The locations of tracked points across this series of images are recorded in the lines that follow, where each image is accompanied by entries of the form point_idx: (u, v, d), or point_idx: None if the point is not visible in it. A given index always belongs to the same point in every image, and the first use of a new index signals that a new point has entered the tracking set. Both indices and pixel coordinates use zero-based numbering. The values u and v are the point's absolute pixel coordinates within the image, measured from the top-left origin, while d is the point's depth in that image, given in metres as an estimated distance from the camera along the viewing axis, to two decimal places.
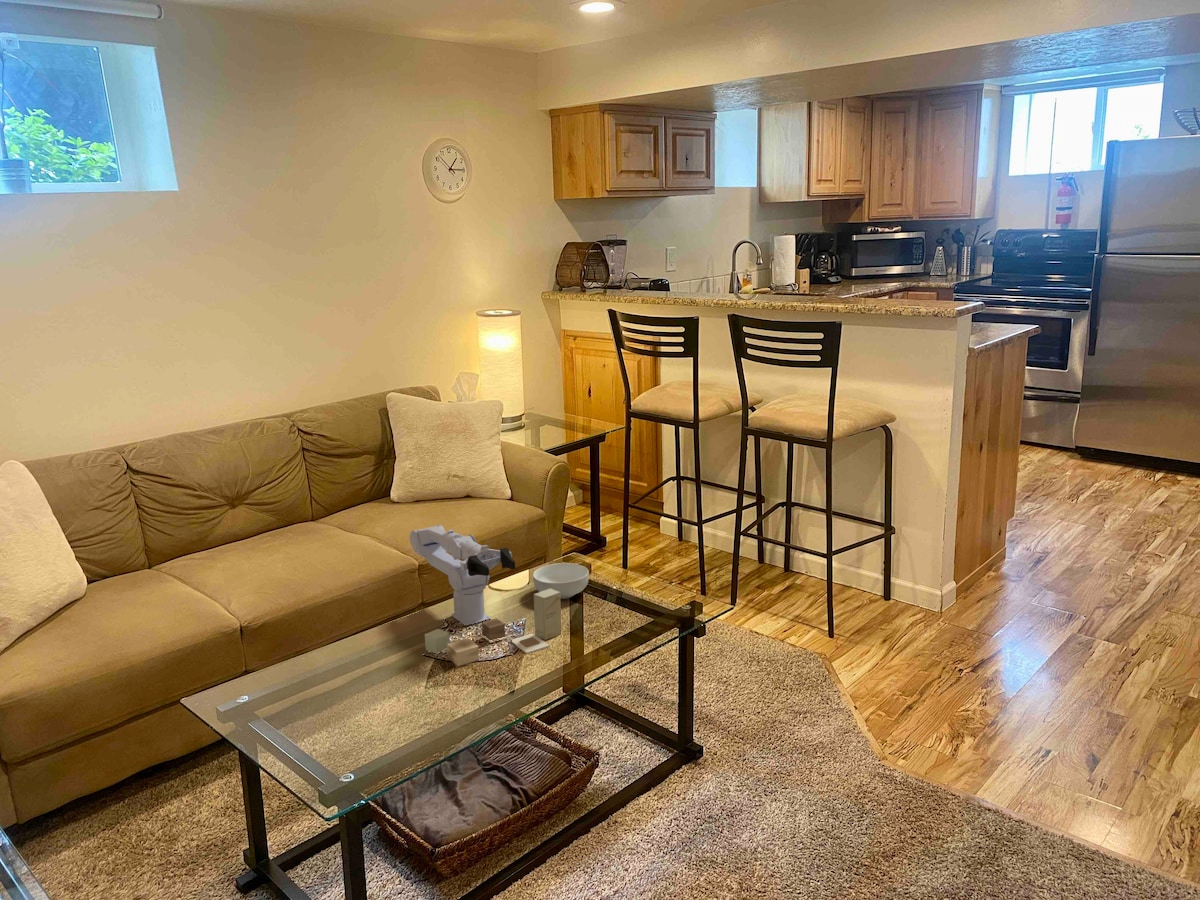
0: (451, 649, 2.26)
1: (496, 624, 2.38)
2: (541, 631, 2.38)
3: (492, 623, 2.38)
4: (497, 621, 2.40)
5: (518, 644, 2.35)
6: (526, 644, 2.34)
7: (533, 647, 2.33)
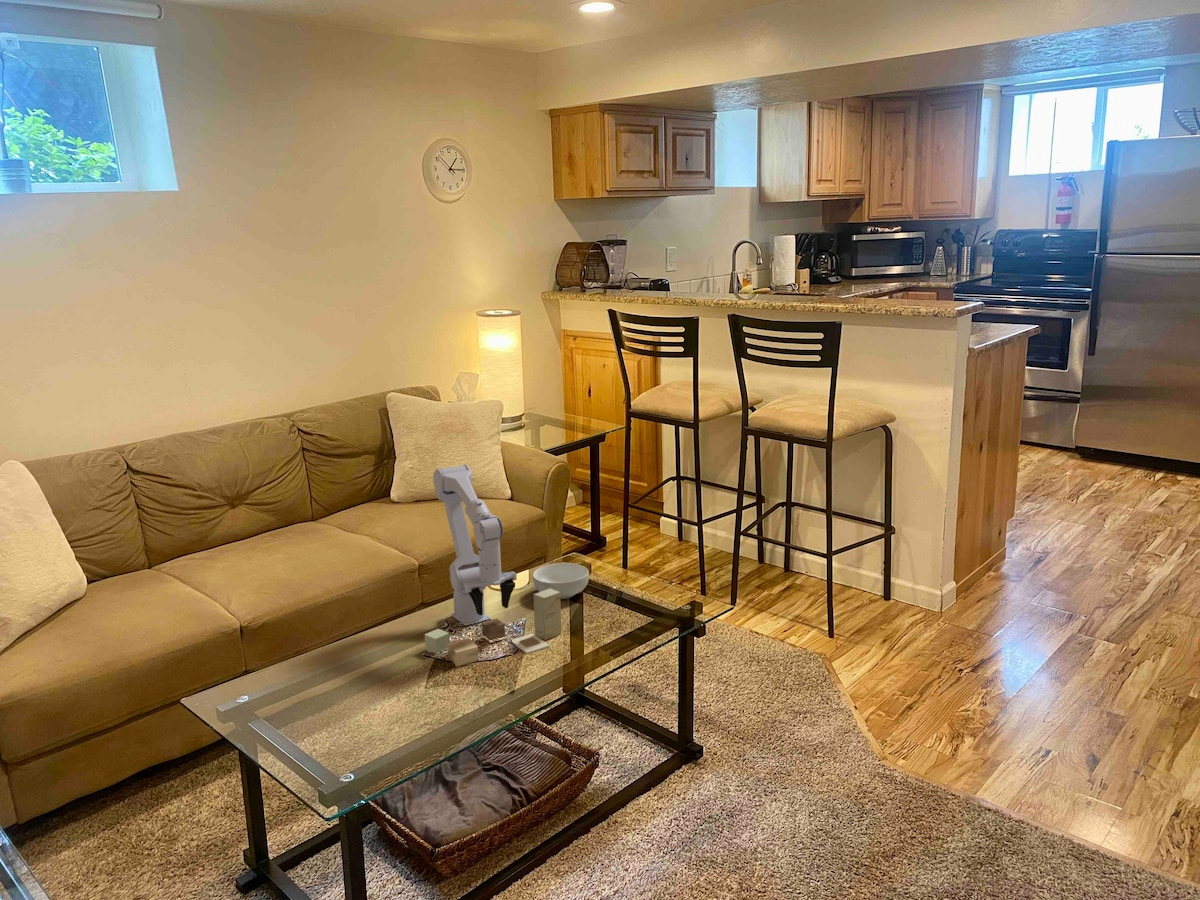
0: (451, 649, 2.26)
1: (496, 624, 2.38)
2: (541, 631, 2.38)
3: (492, 623, 2.38)
4: (497, 621, 2.40)
5: (518, 644, 2.35)
6: (526, 644, 2.34)
7: (533, 647, 2.33)
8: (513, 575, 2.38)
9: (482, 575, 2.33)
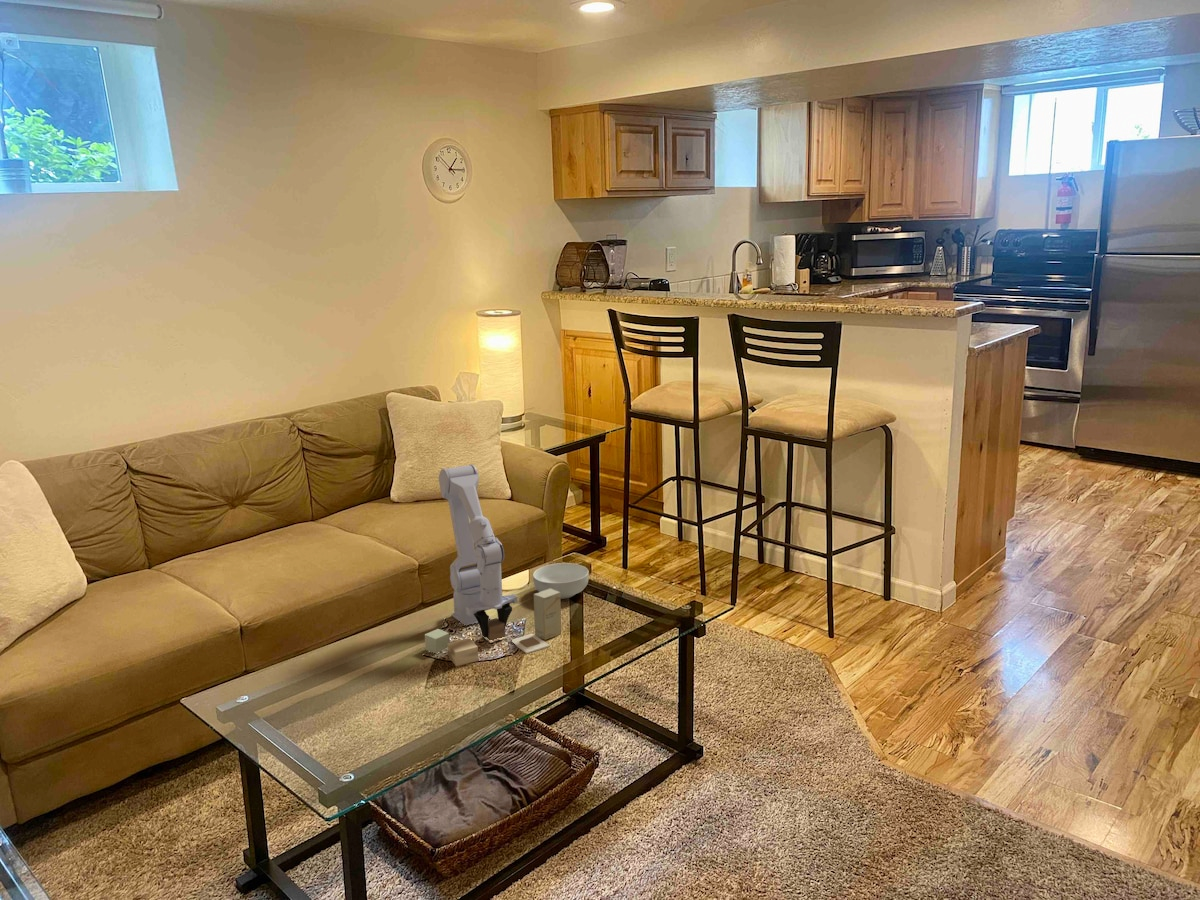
0: (451, 649, 2.26)
1: (496, 624, 2.38)
2: (541, 631, 2.38)
3: (492, 623, 2.38)
4: (497, 620, 2.40)
5: (518, 644, 2.35)
6: (526, 644, 2.34)
7: (533, 647, 2.33)
8: (514, 598, 2.40)
9: (483, 598, 2.35)
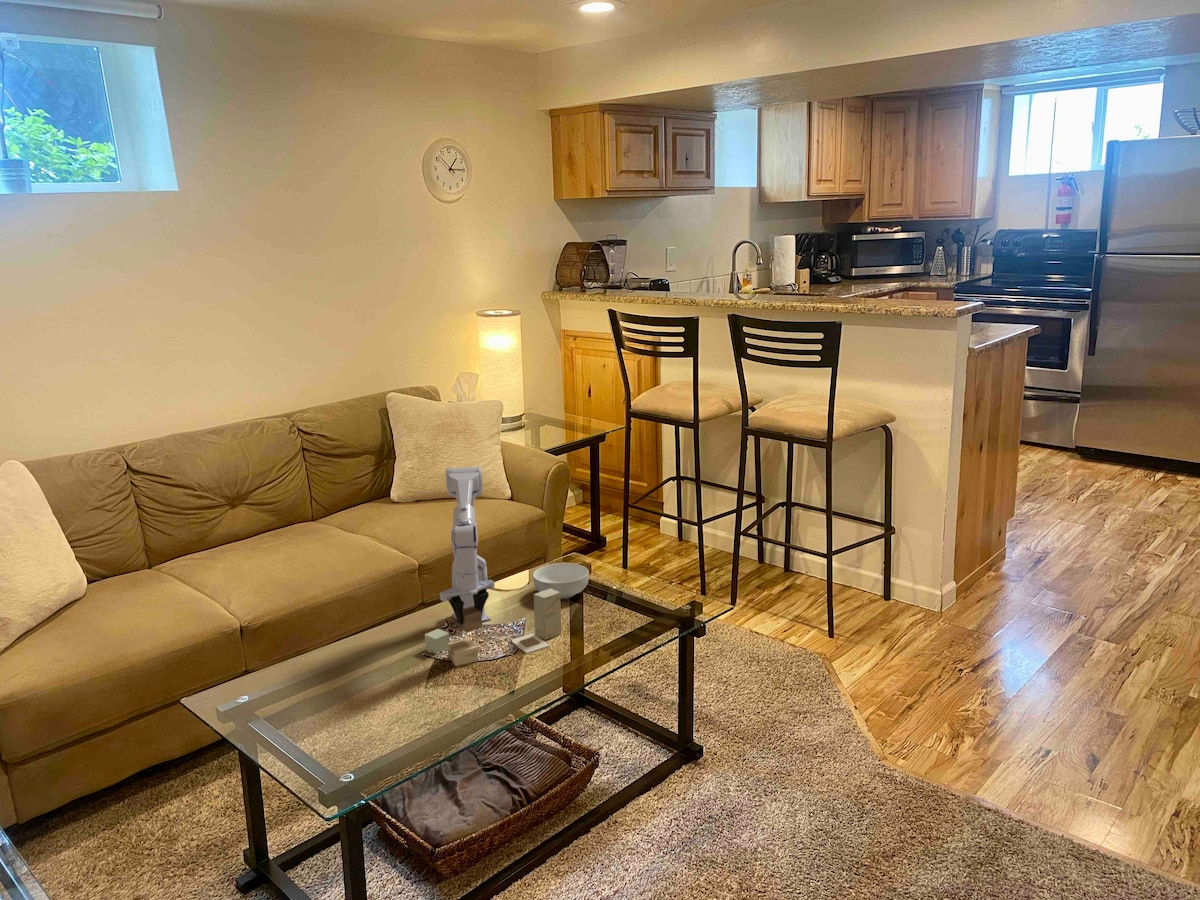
0: (451, 648, 2.26)
1: (472, 612, 2.27)
2: (541, 631, 2.38)
3: (468, 611, 2.27)
4: (474, 608, 2.29)
5: (518, 644, 2.35)
6: (526, 644, 2.34)
7: (533, 647, 2.33)
8: (491, 584, 2.29)
9: (458, 583, 2.24)
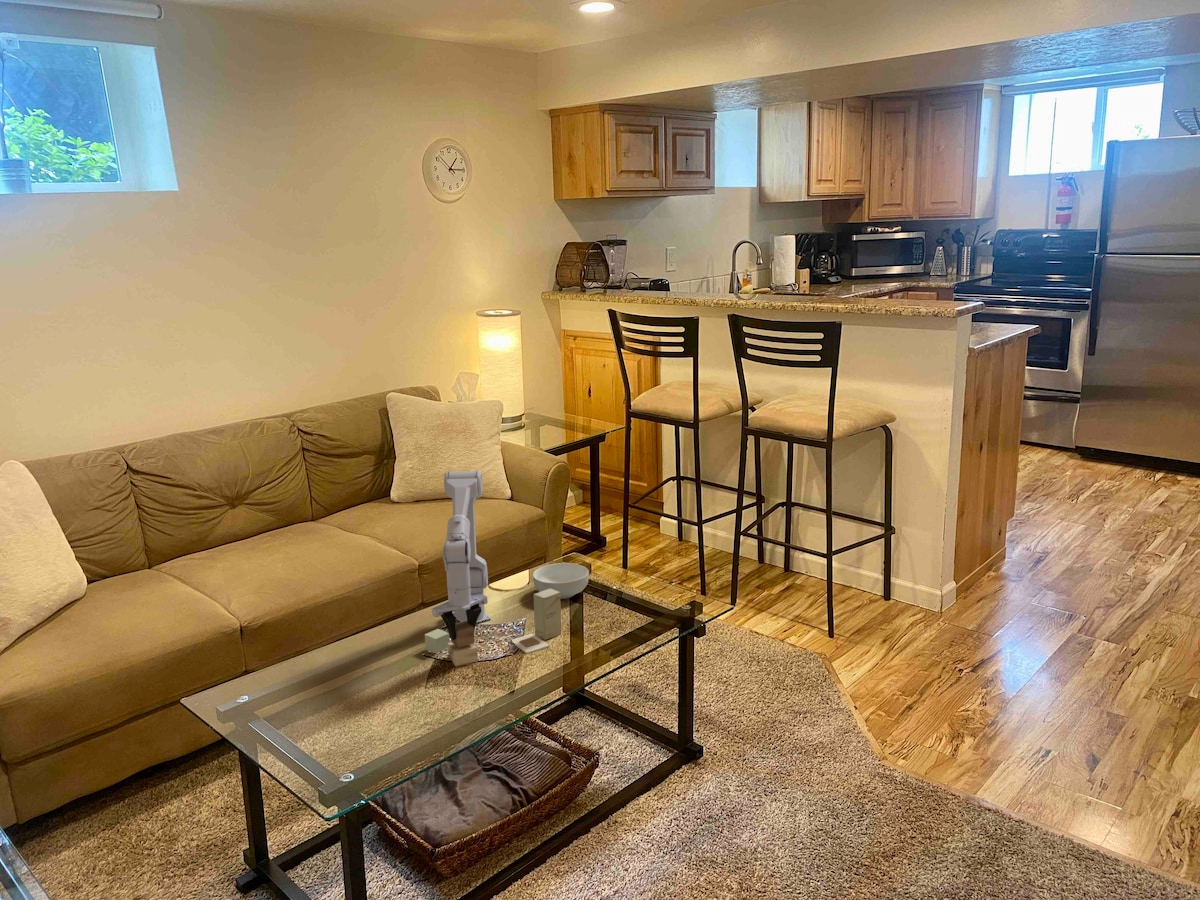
0: (450, 648, 2.27)
1: (465, 627, 2.25)
2: (541, 631, 2.38)
3: (461, 627, 2.25)
4: (466, 623, 2.27)
5: (518, 644, 2.35)
6: (526, 644, 2.34)
7: (533, 647, 2.33)
8: (484, 599, 2.27)
9: (450, 599, 2.22)
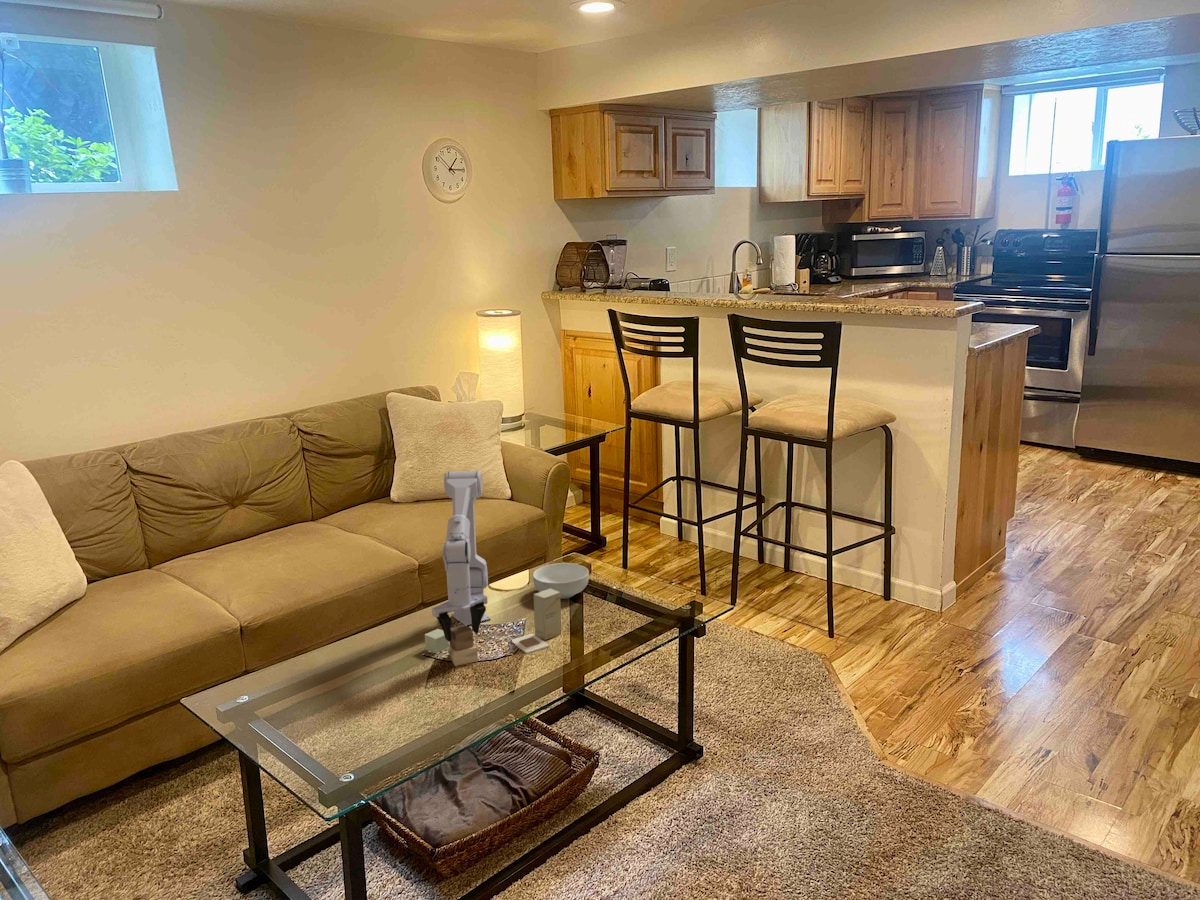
0: (451, 648, 2.27)
1: (464, 631, 2.25)
2: (541, 631, 2.38)
3: (460, 630, 2.26)
4: (465, 627, 2.27)
5: (518, 644, 2.35)
6: (526, 644, 2.34)
7: (533, 647, 2.33)
8: (484, 599, 2.27)
9: (450, 599, 2.22)
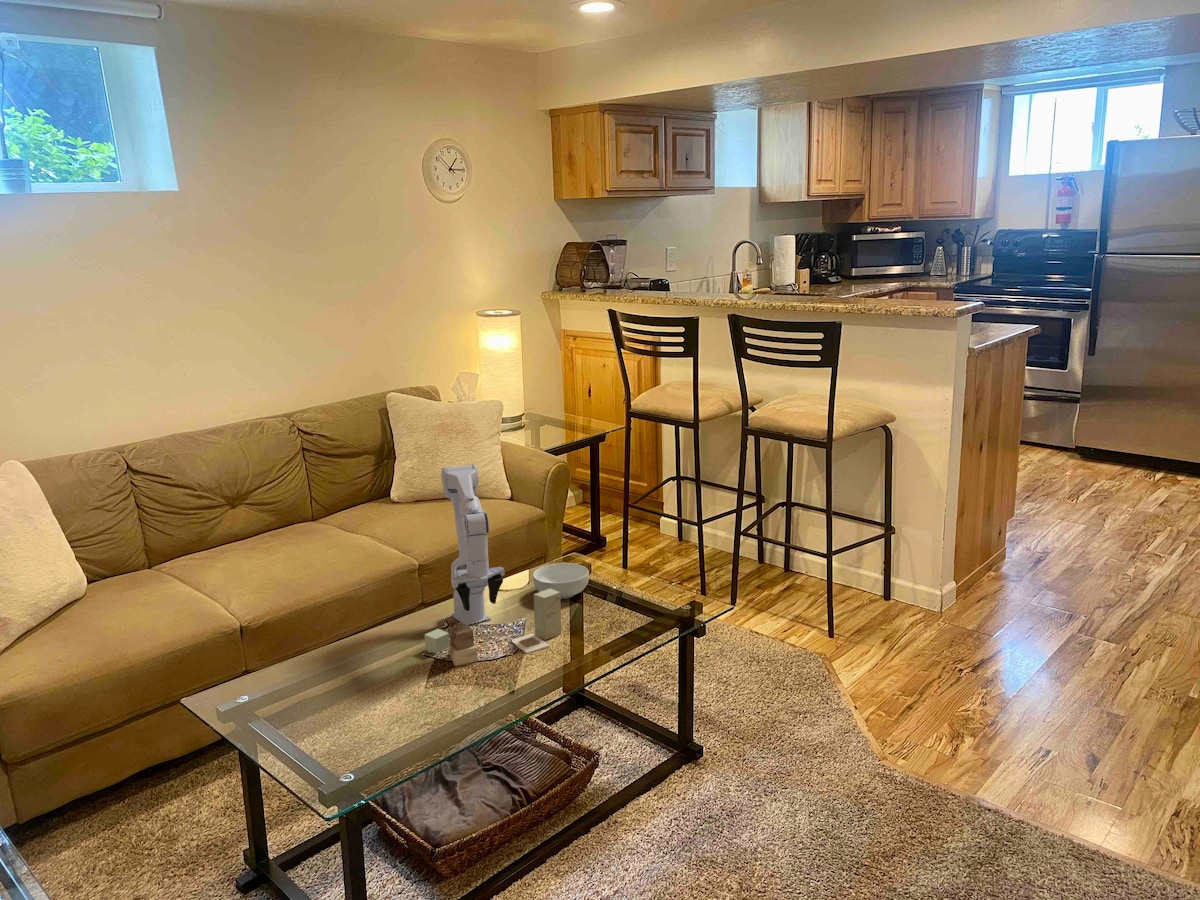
0: (451, 648, 2.27)
1: (464, 630, 2.25)
2: (541, 631, 2.38)
3: (460, 629, 2.26)
4: (466, 626, 2.28)
5: (518, 644, 2.35)
6: (526, 644, 2.34)
7: (533, 647, 2.33)
8: (501, 570, 2.36)
9: (469, 570, 2.31)
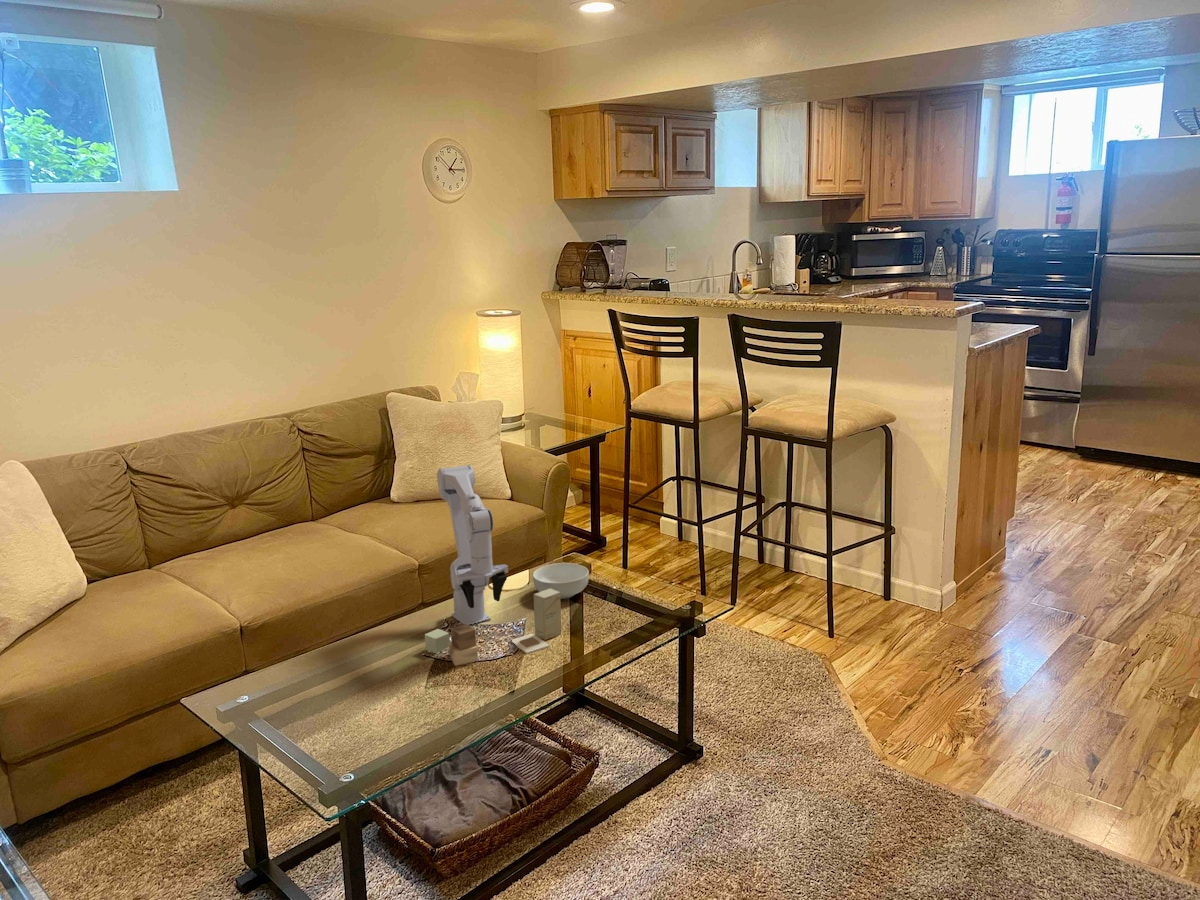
0: (451, 648, 2.27)
1: (466, 630, 2.25)
2: (541, 631, 2.38)
3: (462, 629, 2.26)
4: (467, 626, 2.28)
5: (518, 644, 2.35)
6: (526, 644, 2.34)
7: (533, 647, 2.33)
8: (505, 568, 2.37)
9: (473, 567, 2.32)
